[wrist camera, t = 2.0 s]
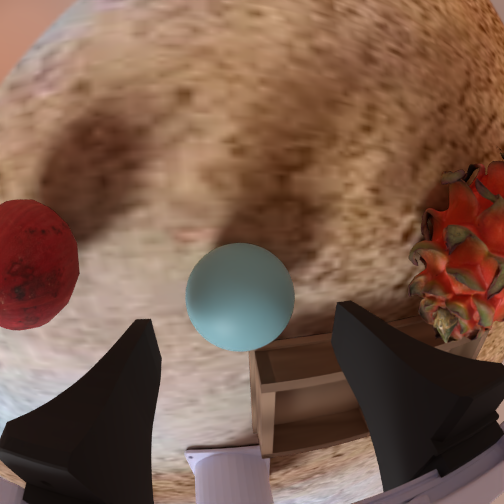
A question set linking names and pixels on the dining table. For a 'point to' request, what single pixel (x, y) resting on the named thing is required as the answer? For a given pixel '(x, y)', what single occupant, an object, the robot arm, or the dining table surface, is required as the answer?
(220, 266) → the ball
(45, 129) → the dining table surface
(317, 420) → the divided wooden tray
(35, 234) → the onion
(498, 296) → the dragon fruit
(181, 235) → the dining table surface
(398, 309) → the dining table surface
